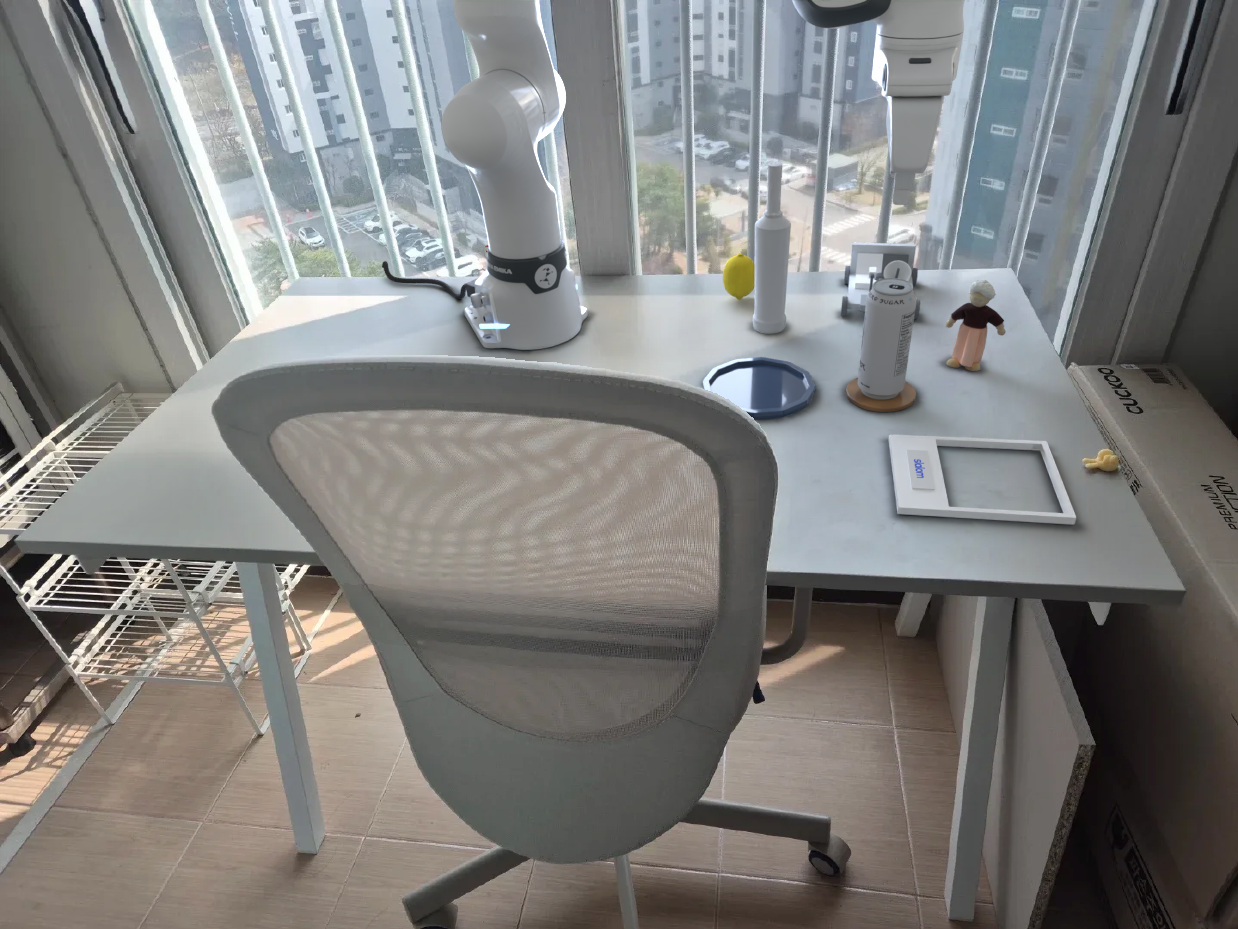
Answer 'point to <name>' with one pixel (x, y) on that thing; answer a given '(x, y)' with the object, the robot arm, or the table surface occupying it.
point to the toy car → (877, 271)
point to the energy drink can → (886, 338)
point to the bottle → (771, 258)
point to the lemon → (739, 276)
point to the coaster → (888, 405)
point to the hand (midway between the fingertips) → (898, 189)
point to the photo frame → (926, 489)
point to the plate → (762, 386)
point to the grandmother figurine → (974, 326)
